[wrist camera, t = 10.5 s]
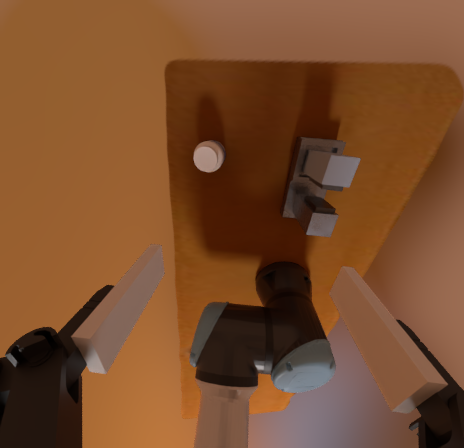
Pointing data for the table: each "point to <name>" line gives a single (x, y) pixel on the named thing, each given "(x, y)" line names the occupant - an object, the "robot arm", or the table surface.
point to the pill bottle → (209, 156)
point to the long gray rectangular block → (330, 169)
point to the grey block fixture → (309, 190)
